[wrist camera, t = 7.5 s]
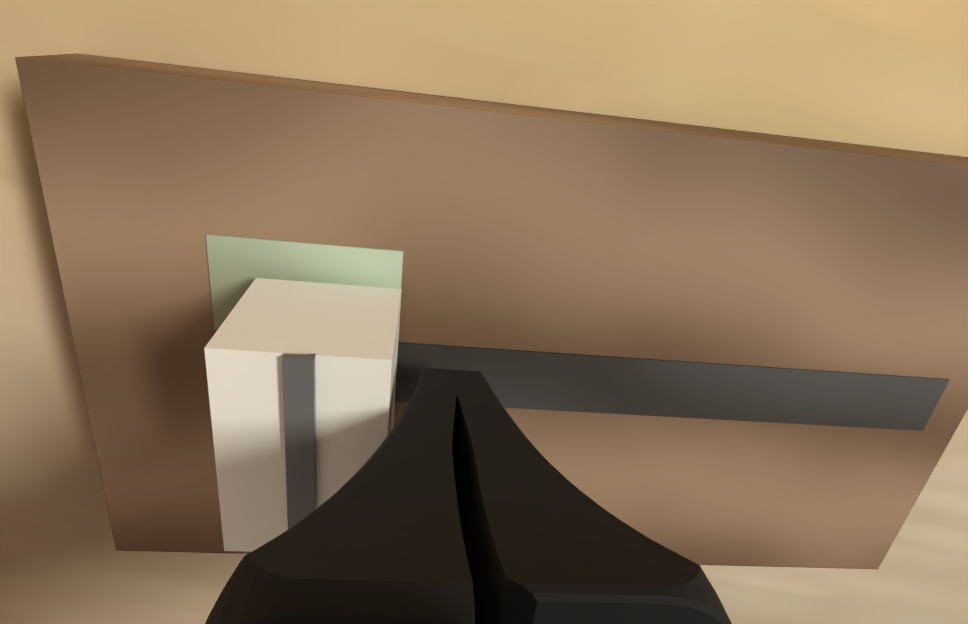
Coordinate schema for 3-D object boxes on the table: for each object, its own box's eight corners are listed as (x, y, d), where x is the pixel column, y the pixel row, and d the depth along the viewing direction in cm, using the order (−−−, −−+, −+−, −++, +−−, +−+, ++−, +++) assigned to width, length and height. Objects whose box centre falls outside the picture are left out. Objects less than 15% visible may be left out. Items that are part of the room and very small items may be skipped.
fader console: (837, 520, 20) (878, 570, 18) (149, 496, 17) (115, 551, 15) (1014, 162, 15) (1097, 181, 13) (78, 53, 12) (13, 57, 10)
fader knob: (391, 456, 14) (380, 560, 12) (265, 451, 14) (221, 556, 11) (401, 289, 12) (391, 364, 10) (255, 277, 12) (200, 352, 9)
